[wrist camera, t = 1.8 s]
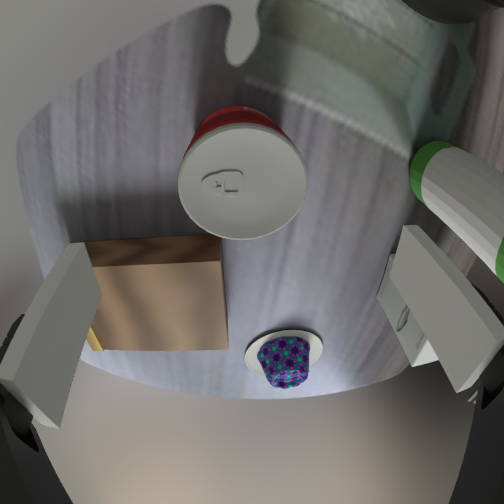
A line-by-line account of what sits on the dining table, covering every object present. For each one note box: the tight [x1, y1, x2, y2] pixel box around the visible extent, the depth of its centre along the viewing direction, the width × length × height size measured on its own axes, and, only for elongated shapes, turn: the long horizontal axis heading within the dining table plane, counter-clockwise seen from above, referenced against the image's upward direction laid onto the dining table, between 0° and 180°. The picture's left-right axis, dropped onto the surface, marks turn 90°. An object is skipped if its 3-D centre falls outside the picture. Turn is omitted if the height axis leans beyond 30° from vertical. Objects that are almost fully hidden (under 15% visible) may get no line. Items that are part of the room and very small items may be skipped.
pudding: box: [245, 330, 323, 389], centre depth 43 cm, size 12×12×5 cm
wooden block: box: [79, 234, 229, 351], centre depth 33 cm, size 18×13×5 cm
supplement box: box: [377, 254, 439, 366], centre depth 33 cm, size 7×7×13 cm
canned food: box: [178, 105, 308, 240], centre depth 22 cm, size 8×8×11 cm
